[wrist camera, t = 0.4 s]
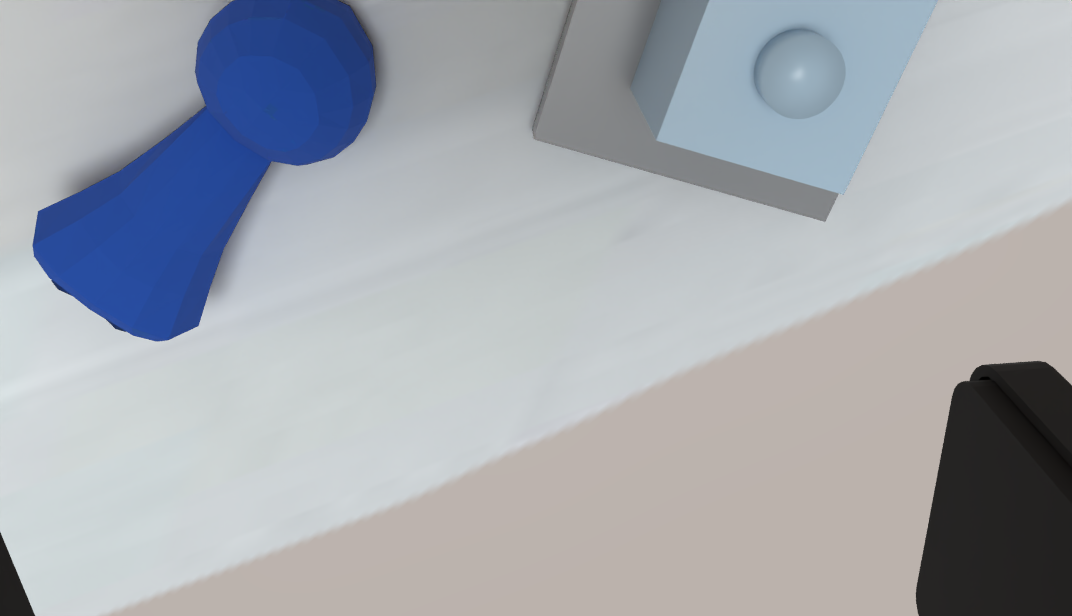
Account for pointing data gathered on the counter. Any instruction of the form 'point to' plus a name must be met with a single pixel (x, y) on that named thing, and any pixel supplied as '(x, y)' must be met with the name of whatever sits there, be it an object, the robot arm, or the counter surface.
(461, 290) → the counter surface
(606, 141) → the baseplate
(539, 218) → the counter surface
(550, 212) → the counter surface
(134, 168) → the toy
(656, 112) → the blue brick
